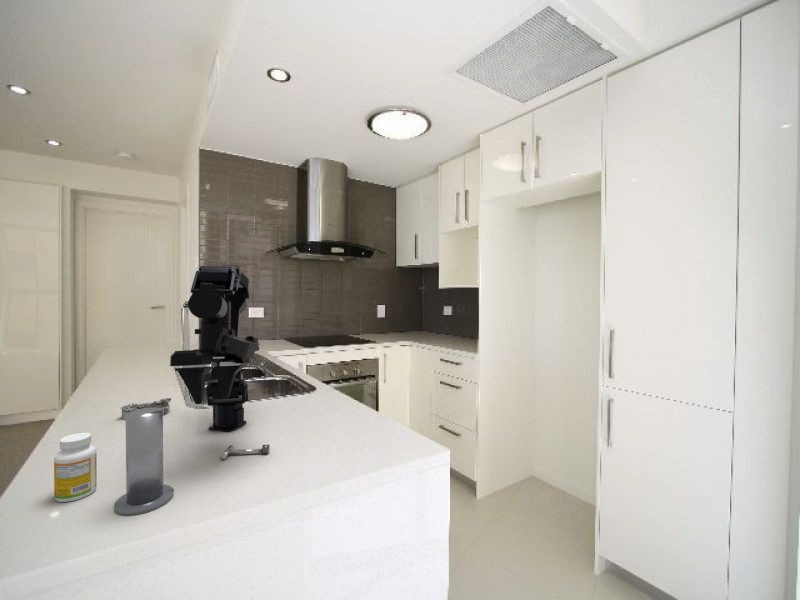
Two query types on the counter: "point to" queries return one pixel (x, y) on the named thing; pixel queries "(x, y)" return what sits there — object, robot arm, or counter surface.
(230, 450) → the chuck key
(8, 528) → the counter surface
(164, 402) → the egg carton
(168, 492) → the coaster
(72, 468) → the supplement bottle
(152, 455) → the grey cylindrical piece
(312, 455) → the counter surface
